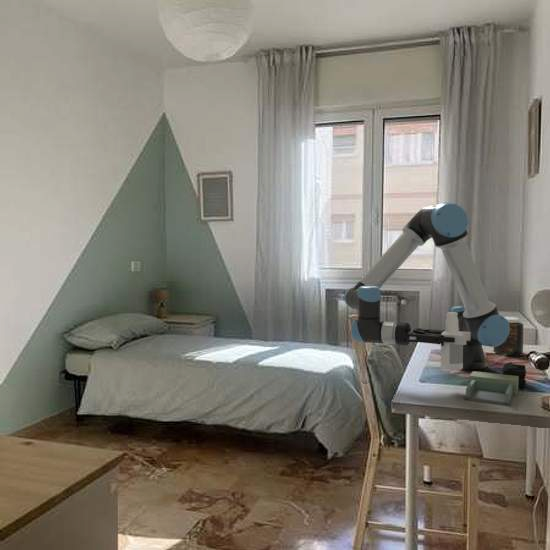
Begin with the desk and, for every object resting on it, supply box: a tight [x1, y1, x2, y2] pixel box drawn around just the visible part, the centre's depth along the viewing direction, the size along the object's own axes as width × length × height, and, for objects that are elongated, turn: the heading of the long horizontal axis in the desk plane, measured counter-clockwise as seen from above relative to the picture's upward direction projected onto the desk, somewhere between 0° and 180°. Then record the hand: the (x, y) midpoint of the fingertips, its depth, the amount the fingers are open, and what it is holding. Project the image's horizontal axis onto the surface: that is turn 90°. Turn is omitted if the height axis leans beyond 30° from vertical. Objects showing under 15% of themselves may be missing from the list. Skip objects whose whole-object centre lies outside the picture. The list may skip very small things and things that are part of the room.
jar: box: [493, 316, 524, 356], centre depth 234 cm, size 12×12×15 cm
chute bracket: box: [463, 370, 519, 406], centre depth 171 cm, size 20×14×4 cm
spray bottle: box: [440, 311, 464, 371], centre depth 176 cm, size 7×7×18 cm
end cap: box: [501, 361, 527, 390], centre depth 183 cm, size 10×7×7 cm
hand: (468, 338), depth 173 cm, fingers closed on spray bottle, 7 cm apart
